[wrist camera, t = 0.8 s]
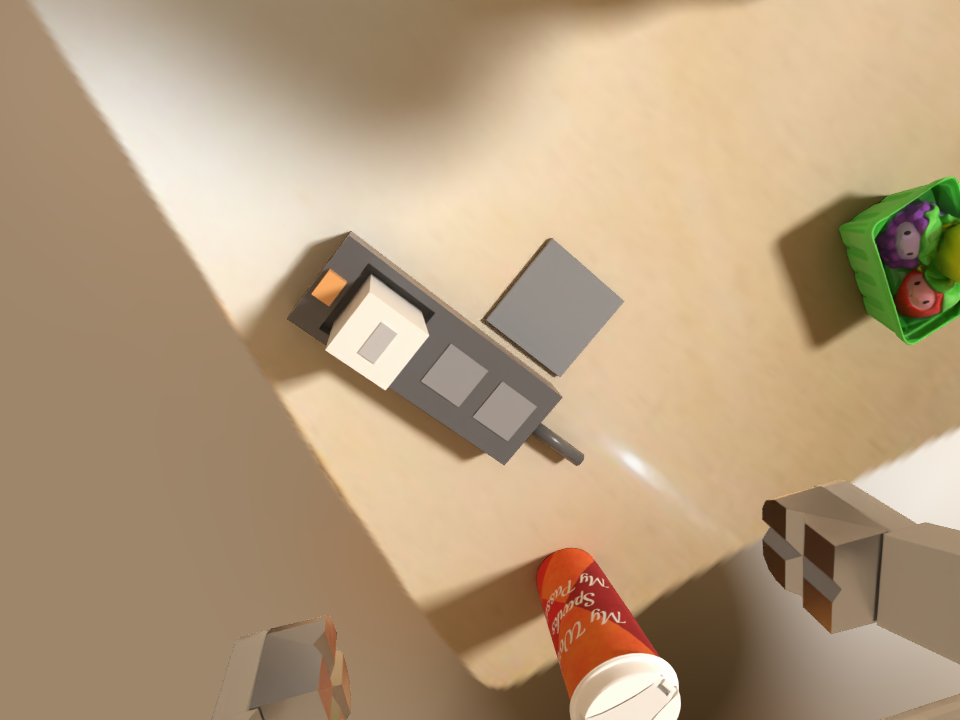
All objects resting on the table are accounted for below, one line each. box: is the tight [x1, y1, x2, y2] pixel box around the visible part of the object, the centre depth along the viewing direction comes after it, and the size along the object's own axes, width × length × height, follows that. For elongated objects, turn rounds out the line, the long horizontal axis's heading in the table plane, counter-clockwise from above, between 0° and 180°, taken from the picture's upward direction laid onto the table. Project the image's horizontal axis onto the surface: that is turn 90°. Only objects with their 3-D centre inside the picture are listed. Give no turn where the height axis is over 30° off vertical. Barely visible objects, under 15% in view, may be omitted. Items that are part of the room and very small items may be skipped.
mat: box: [486, 238, 624, 377], centre depth 45 cm, size 8×8×1 cm
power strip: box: [287, 231, 584, 466], centre depth 44 cm, size 7×26×4 cm, turn 50°
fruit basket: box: [839, 177, 960, 345], centre depth 44 cm, size 11×9×11 cm
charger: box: [325, 273, 429, 391], centre depth 38 cm, size 4×4×7 cm
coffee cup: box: [536, 548, 681, 720], centre depth 47 cm, size 8×8×15 cm
